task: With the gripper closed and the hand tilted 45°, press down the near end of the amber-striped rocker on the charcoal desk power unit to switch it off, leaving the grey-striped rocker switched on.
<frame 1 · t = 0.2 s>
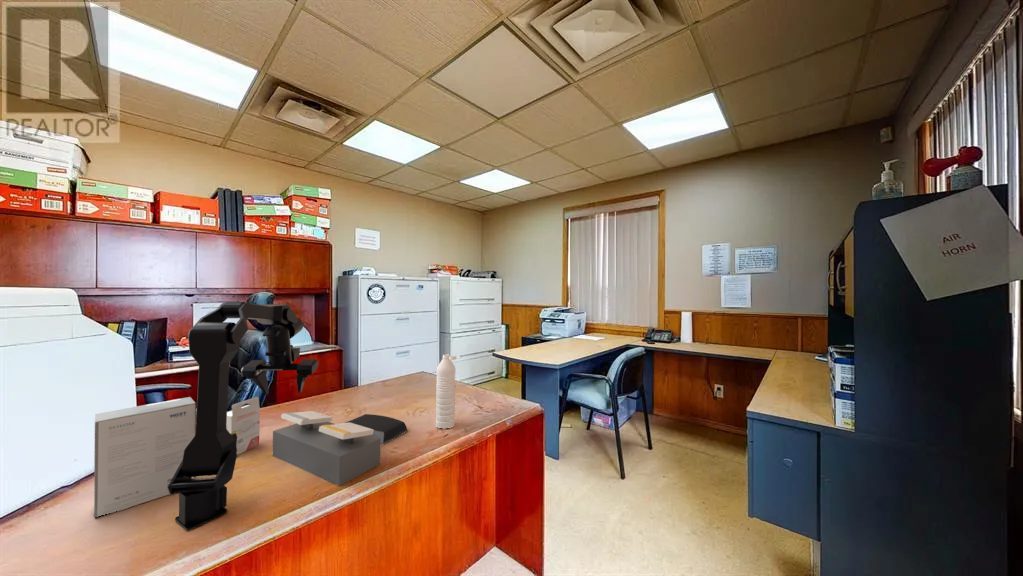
hand: (283, 393, 104), 15 cm above the table, tool pointing down, fingers open, 9 cm apart
power unit: (325, 459, 94), on the table
rocker amber: (346, 429, 90), point 10 cm above the table, hinge at 12.0°
water bottle: (446, 427, 118), on the table
rocker grey: (307, 417, 99), point 10 cm above the table, hinge at 12.0°
ink cartridge box: (239, 450, 99), on the table
external hard drive: (373, 434, 112), on the table
hard drive box: (146, 496, 77), on the table
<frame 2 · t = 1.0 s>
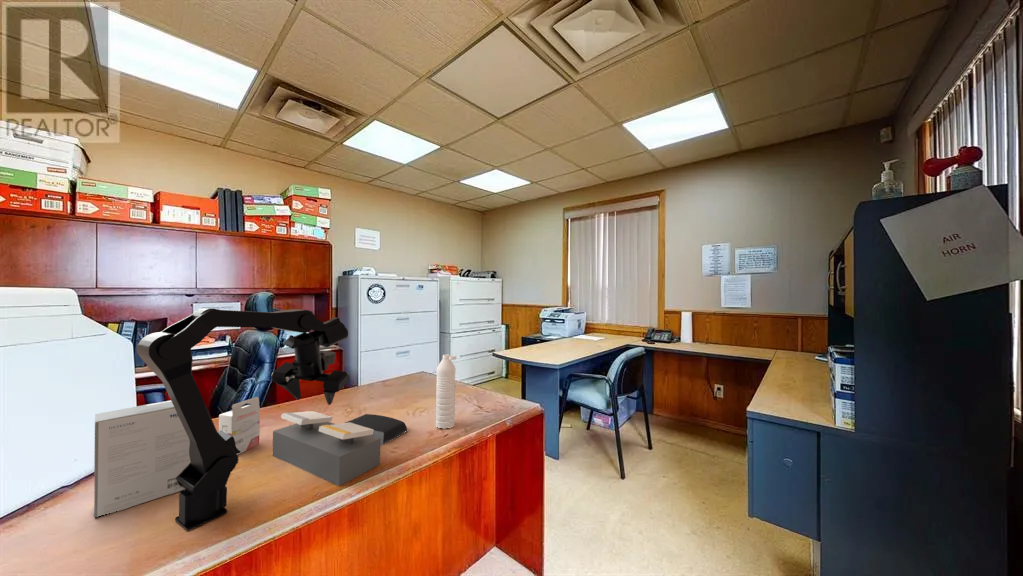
hand: (314, 401, 95), 16 cm above the table, tool tilted 25°, fingers open, 9 cm apart
nothing on the table moved.
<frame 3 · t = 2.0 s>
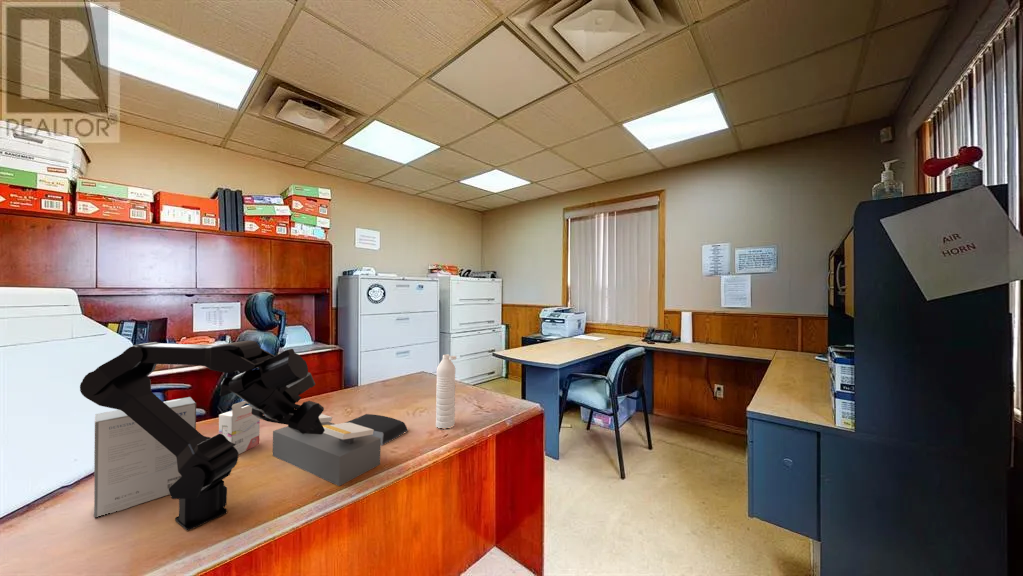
hand: (310, 428, 82), 14 cm above the table, tool tilted 45°, fingers open, 9 cm apart
nothing on the table moved.
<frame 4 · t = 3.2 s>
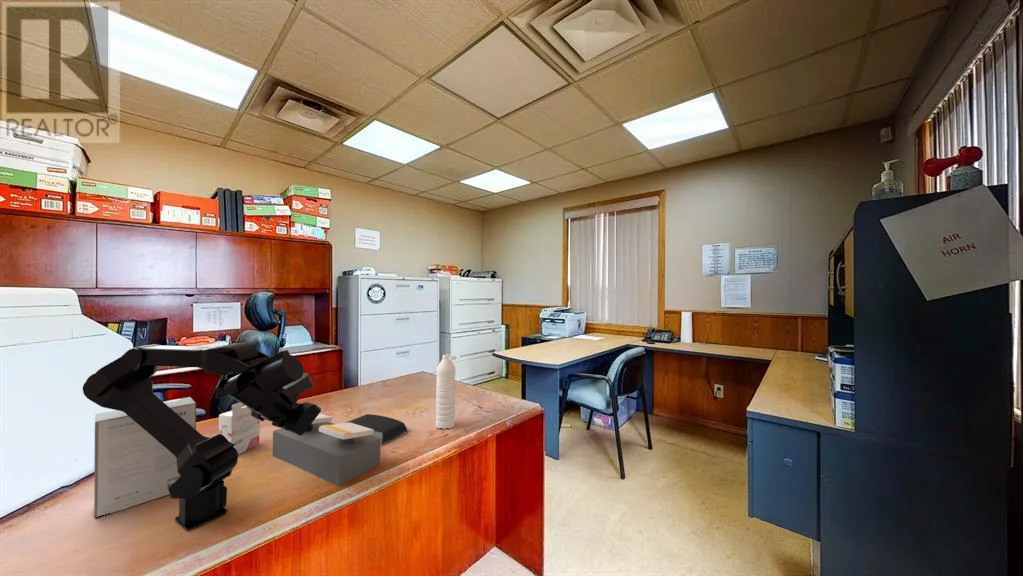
hand: (310, 429, 81), 14 cm above the table, tool tilted 45°, fingers closed
nothing on the table moved.
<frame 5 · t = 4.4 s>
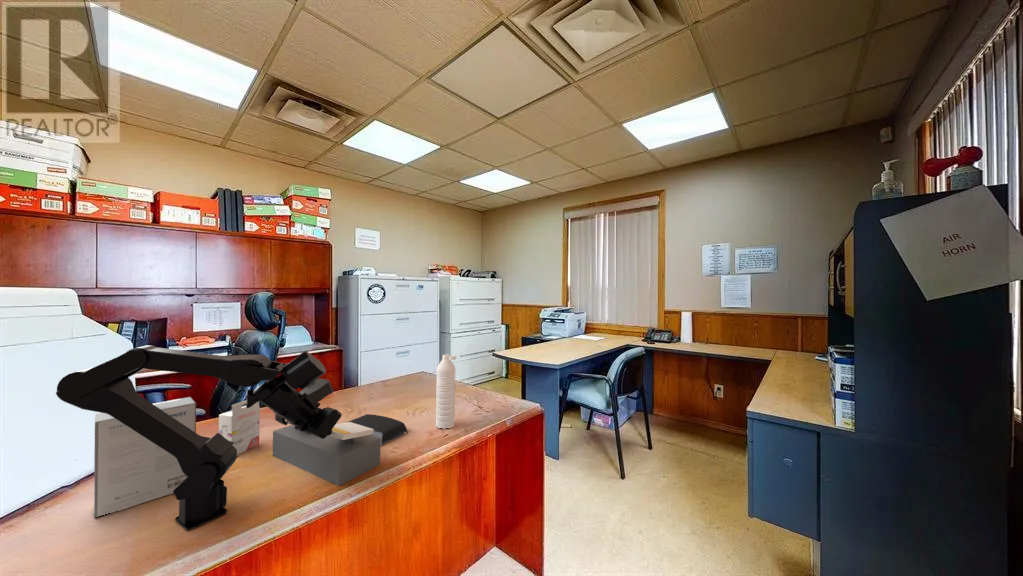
hand: (330, 433, 86), 11 cm above the table, tool tilted 45°, fingers closed, pressing on rocker amber
rocker amber: (346, 430, 90), point 10 cm above the table, hinge at 10.3°, touching gripper
everything else where it was.
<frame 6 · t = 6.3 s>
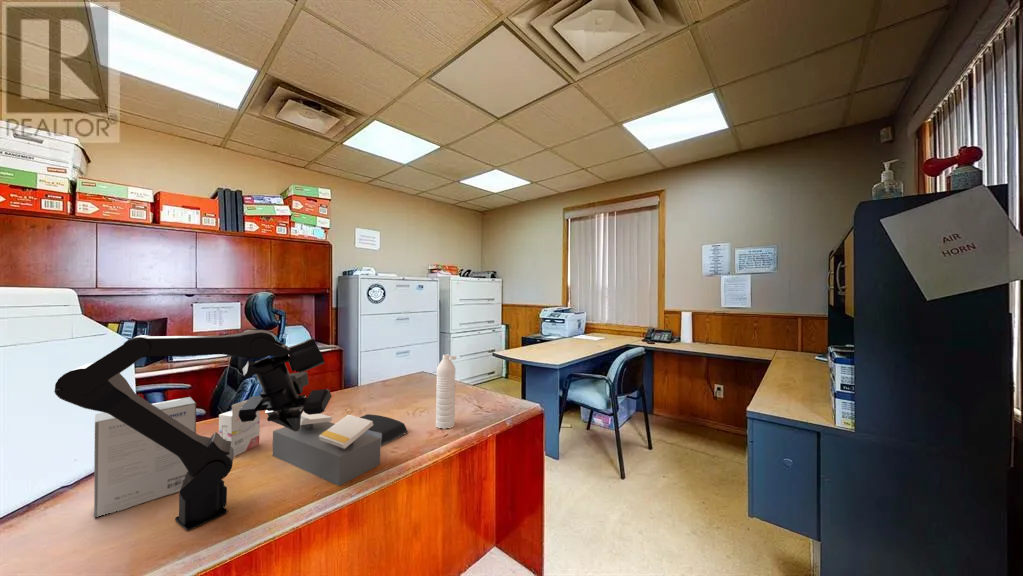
hand: (297, 429, 85), 12 cm above the table, tool tilted 25°, fingers closed
rocker amber: (346, 430, 90), point 10 cm above the table, hinge at -19.8°
everything else where it was.
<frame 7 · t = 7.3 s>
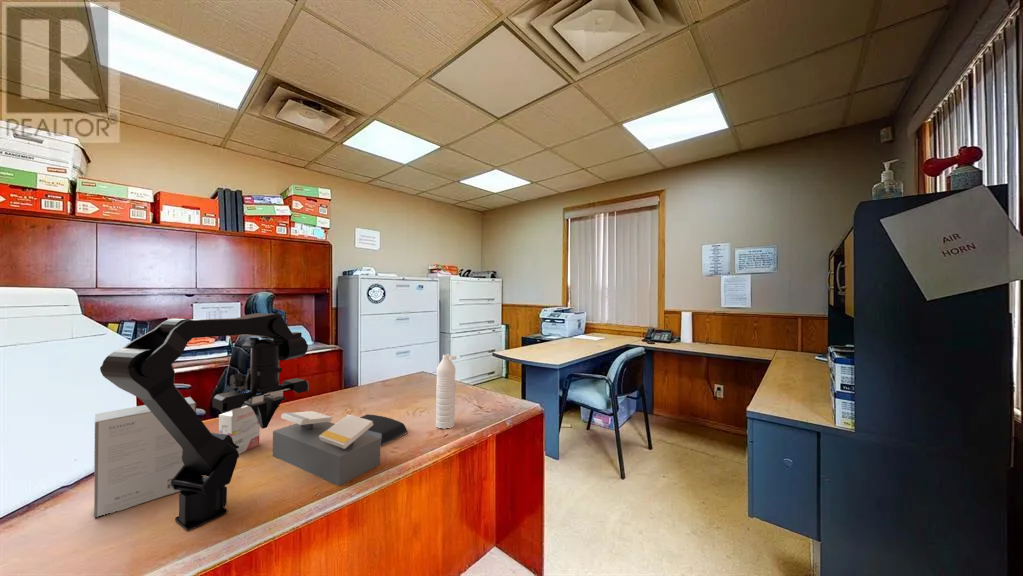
hand: (263, 427, 83), 13 cm above the table, tool pointing down, fingers closed
rocker amber: (346, 430, 90), point 10 cm above the table, hinge at -20.3°
everything else where it was.
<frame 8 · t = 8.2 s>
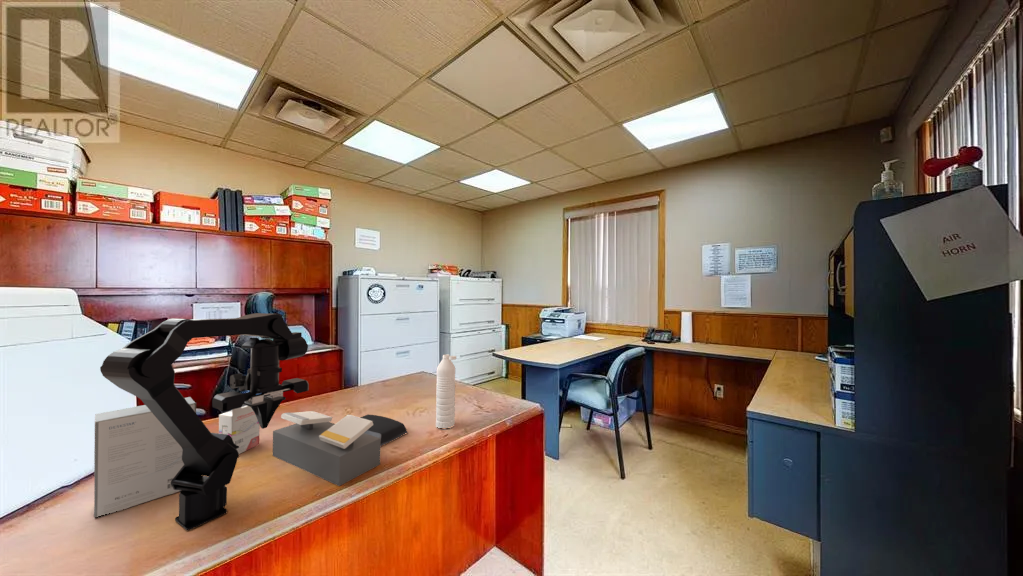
hand: (263, 427, 83), 13 cm above the table, tool pointing down, fingers closed
nothing on the table moved.
at the end: rocker amber at -20° (first picture: +12°); rocker grey at +12° (first picture: +12°) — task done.
